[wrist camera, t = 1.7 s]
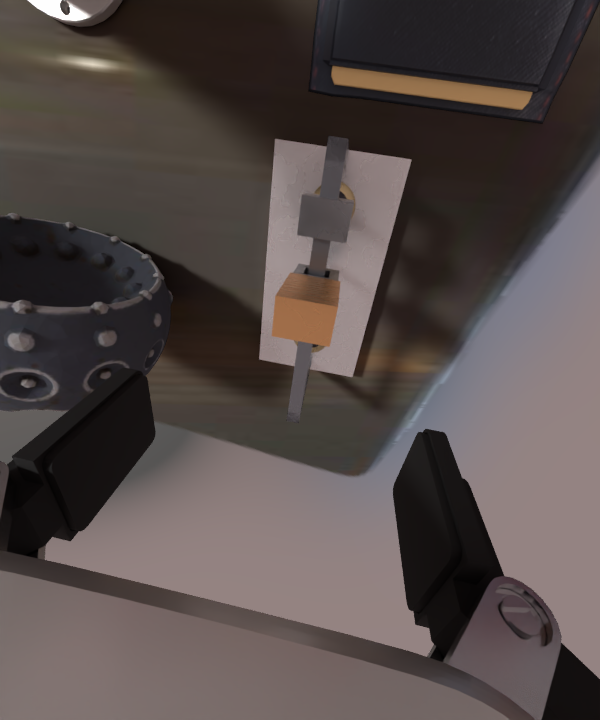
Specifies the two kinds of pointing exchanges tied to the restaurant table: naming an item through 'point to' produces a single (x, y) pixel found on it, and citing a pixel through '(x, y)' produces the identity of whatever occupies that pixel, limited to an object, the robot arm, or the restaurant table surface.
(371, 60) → the dark grey flat slab
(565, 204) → the restaurant table surface
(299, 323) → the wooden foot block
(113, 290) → the ring
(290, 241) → the switch panel
